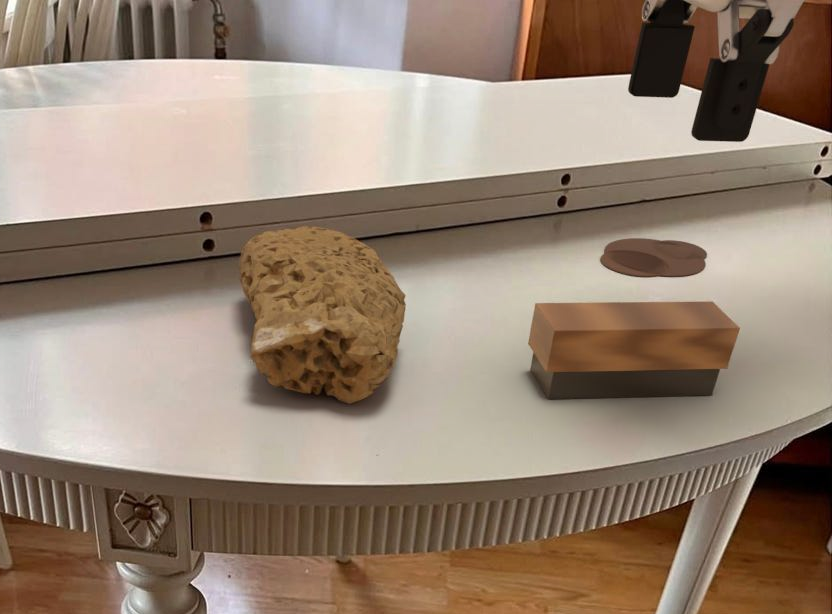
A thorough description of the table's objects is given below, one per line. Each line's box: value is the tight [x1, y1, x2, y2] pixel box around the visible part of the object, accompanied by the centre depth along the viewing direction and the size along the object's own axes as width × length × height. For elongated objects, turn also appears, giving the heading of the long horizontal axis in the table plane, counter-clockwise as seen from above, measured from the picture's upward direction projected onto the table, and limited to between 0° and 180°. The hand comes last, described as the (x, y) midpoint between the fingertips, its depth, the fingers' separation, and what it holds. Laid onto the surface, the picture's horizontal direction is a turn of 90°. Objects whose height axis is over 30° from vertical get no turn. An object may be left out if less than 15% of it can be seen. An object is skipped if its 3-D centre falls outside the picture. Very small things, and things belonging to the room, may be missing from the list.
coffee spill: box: [599, 237, 708, 278], centre depth 90 cm, size 11×9×1 cm
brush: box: [527, 301, 741, 400], centre depth 69 cm, size 13×4×5 cm, turn 99°
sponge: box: [238, 225, 407, 405], centre depth 71 cm, size 13×8×20 cm
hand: (683, 116), depth 60 cm, fingers open, 9 cm apart
